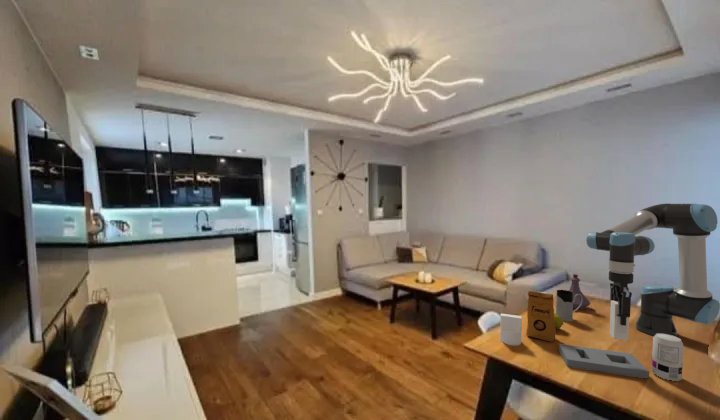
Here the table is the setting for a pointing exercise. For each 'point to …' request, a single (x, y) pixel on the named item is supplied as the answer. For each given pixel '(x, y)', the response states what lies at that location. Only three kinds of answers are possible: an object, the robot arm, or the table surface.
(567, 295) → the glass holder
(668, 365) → the supplement can
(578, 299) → the flask
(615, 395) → the table surface
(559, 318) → the lemon
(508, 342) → the white piece
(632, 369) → the socket plate
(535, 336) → the coffee package
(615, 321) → the square peg
